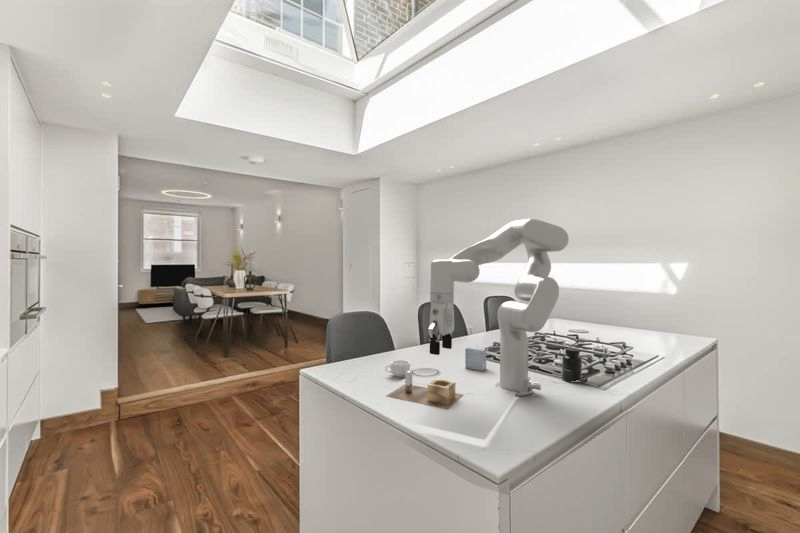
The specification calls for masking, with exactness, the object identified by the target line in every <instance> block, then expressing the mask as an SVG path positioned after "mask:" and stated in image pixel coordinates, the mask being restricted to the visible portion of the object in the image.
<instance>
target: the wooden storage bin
mask: <svg viewBox="0 0 800 533" xmlns="http://www.w3.org/2000/svg"><path fill="white" fill-rule="evenodd" d="M427 388H428V400H429V401H434V402H439V403H444V404H448V403H450V402H451V401H452V400H453V399H454V398H455V393H456V381H451V380H446V379H441V378H440V379H439V378H436V379H435V378H434V380H432V381H431V382H429V383H428V384H427Z"/></svg>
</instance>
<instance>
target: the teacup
mask: <svg viewBox="0 0 800 533" xmlns="http://www.w3.org/2000/svg"><path fill="white" fill-rule="evenodd" d="M388 367H389V368H390V370H388V369H387V368H388ZM410 370H411V361H409V360H407V359H395V360H392V361H390V365H386V366H385V371H386V372H388V373H391V374H392V375H393V376H395V377H397V378H405V373H406V372H407V371H410Z"/></svg>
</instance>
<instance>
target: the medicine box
mask: <svg viewBox="0 0 800 533" xmlns="http://www.w3.org/2000/svg"><path fill="white" fill-rule="evenodd" d="M464 350H465V353H464V354H465V357H464V358H465V369H469V370H476V371H480V372H483V371H484V370H486V369H487V348H483V347H477V346H475V347H474V346H468V347H466V348H465V349H464Z"/></svg>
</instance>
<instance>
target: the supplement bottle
mask: <svg viewBox="0 0 800 533" xmlns="http://www.w3.org/2000/svg"><path fill="white" fill-rule="evenodd" d="M564 353H565V354H564V355H563V356H562V364H561V365H562V366H561V379H562V380H563V379H564V380H566V381H565V382H567V381H576V380H578V379H580V378H581V379H582V374H583V373H582V370H583V369H582V368H583V367H582V366H583V359H582V357H581V356H580V349H578V348H573V347H567V348H565V351H564ZM564 380H563V381H564Z"/></svg>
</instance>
